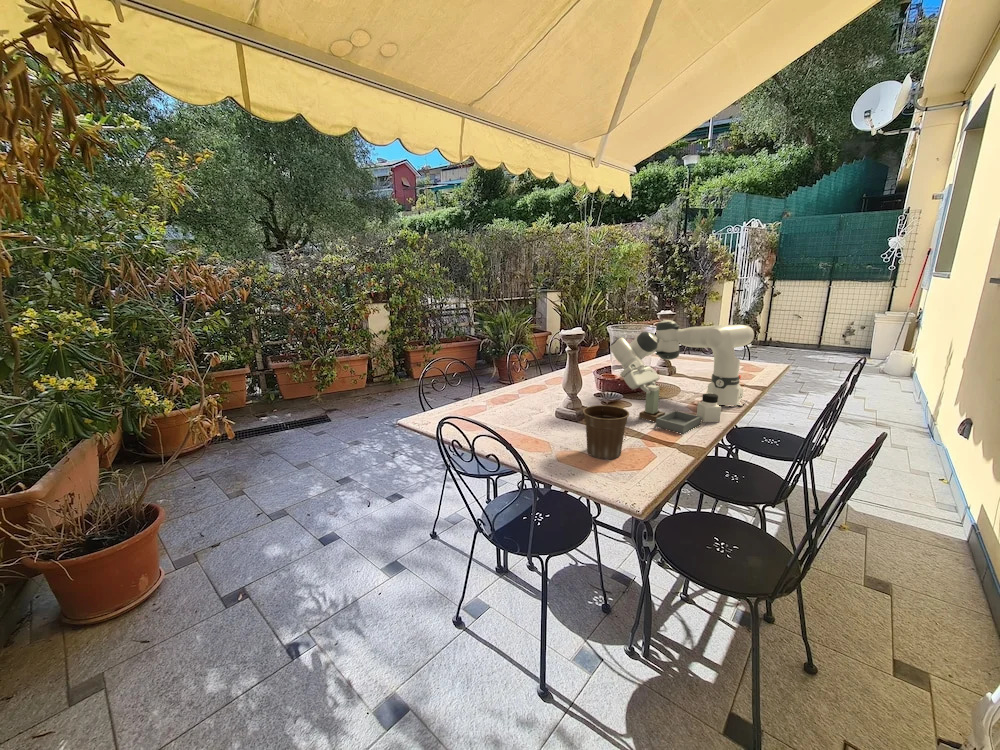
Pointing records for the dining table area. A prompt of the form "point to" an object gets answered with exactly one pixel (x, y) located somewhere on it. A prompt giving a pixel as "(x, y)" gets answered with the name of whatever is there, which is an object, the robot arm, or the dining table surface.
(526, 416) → the dining table surface
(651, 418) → the tray
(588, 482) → the dining table surface
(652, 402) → the green rectangular block
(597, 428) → the plant pot
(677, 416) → the tray
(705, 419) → the medicine bottle
